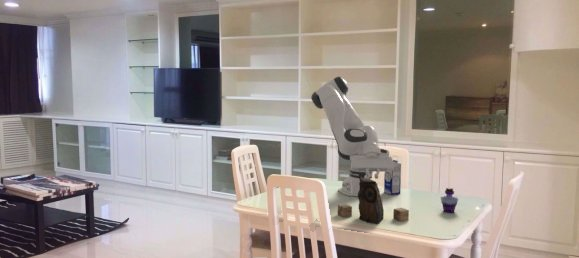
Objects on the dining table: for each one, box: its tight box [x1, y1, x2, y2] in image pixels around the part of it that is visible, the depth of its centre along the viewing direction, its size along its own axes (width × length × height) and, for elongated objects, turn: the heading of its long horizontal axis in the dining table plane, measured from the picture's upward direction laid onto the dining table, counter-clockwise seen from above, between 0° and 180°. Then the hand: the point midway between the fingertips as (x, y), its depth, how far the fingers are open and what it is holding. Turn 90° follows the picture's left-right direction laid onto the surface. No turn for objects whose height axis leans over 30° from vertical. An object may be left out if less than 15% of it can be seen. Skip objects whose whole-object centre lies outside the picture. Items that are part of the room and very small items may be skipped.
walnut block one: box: [337, 203, 353, 219], centre depth 225 cm, size 5×5×5 cm
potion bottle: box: [440, 187, 459, 214], centre depth 233 cm, size 9×9×12 cm
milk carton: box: [383, 159, 402, 196], centre depth 271 cm, size 7×7×20 cm
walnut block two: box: [392, 207, 410, 222], centre depth 219 cm, size 5×5×5 cm
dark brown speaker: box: [357, 177, 385, 225], centre depth 218 cm, size 13×13×20 cm
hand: (373, 177), depth 217 cm, fingers closed
